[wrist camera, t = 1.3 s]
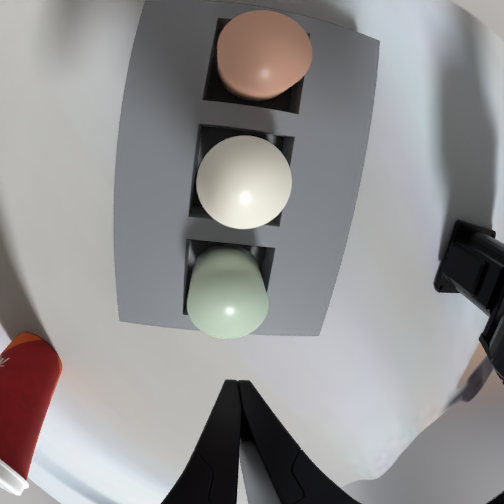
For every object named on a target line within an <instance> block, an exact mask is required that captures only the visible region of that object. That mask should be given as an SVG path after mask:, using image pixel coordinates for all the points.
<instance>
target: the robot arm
mask: <svg viewBox="0 0 504 504" xmlns="http://www.w3.org/2000/svg"><path fill="white" fill-rule="evenodd" d="M495 236H496V232H495V231H494V230H491V229H488V228H485V227H482V226H479V225H475V224H472V223H469V222H465V221H462V220H458V221H457V222H456V223H455V226H454V230H453V233H452V237H451V240H450V243H449V247H448V250H447V253H446V256H445V259H444V262H443V265H442V268H441V270H440V273H439V276H438V279H437V281H436V284H435V290H436V291H437V292H441V293H461V294H463V295H464V296H465V297H466V298H467V299H469V300H470V301H471V302H472V303H473V304H475V305H476V306H477V307H478V308H479V309H480V310H482V311H483V312H484V313H485V314H486V315H487V316H489V319H488V322H487V324H486V326H485V329H484V331H483V333H481V335H480V337H479V341H480V342H481V344H482V346H483V348H484V350H485V352H486V354H487V356H488V357H489V359H490V361H491V364H492V366H493V368H494V369H495V371H496V373H497V375H498V376H499V378H500V379H502V380H503V384H504V244H503V243H501V242H499V241H498V240H496V239H495ZM239 458H240V463H241V469H242V474H243V479H244V484H245V489H246V494H247V499H248V503H249V504H361V503H359V502H357V501H356V500H354V499H353V498H352V497H350V496H349V495H348V494H347V493H345V492H344V491H343V490H342V489H341V488H340V487H338V486H337V485H336V484H335V483H334V482H333V481H332V480H330V479H329V478H328V477H327V476H326V475H325V474H324V473H323V472H322V471H321V470H320V469H319V468H318V467H317V466H316V465H315V464H314V463H313V462H312V461H311V460H310V458H309V457H308V456H307V455H306V454H305V452H304V451H303V450H301V448H300V446H299V445H298V444H297V443H296V441H295V440H294V439H293V438H292V436H291V435H290V434H289V432H288V431H287V430H286V429H285V427H284V426H283V425H282V423H281V422H280V421H279V420H278V418H277V417H276V416H275V414H274V413H273V412H272V410H271V409H270V408H269V406H268V405H267V404H266V402H265V401H264V399H263V398H262V397H261V395H260V394H259V393H258V391H257V390H256V388H255V387H254V386H253V384H252V383H251V382H250V381H249V380H239V381H237V380H228V379H227V380H225V382H224V384H223V386H222V389H221V391H220V393H219V396H218V398H217V400H216V402H215V405H214V407H213V409H212V411H211V414H210V416H209V418H208V420H207V423H206V425H205V427H204V429H203V432H202V434H201V436H200V438H199V440H198V443H197V445H196V447H195V449H194V451H193V453H192V455H191V458H190V460H189V462H188V464H187V465H186V467H185V469H184V471H183V473H182V474H181V476H180V477H179V479H178V481H177V482H176V484H175V485H174V486H173V488H172V489H171V491H170V492H169V493H168V495H167V496H166V497H165V499H164V500H163V502H162V503H161V504H236V503H237V485H238V467H239ZM486 504H504V491H503V492H501V493H500V494H498V495H497V496H496V497H494V498H493V499H492V500H490V501H489V502H487V503H486Z"/></svg>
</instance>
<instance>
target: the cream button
mask: <svg viewBox="0 0 504 504" xmlns="http://www.w3.org/2000/svg"><path fill="white" fill-rule="evenodd" d="M196 185H197V193H198V197H199V199H200V202H201V204H202V206H203V207H204V209H205V210H206V212H207V213H208V214H209V215H210V216H211V217H212V218H214V219H215V220H216V221H218V222H219V223H221V224H223V225H225V226H228V227H231V228H237V229H251V228H256V227H259V226H262V225H264V224H266V223H268V222H269V221H271V220H273V219H274V218H275V217H276V216H277V215H278V214H279V213H280V212H281V211H282V209H283V208H284V207H285V205H286V203H287V201H288V199H289V196H290V193H291V187H292V176H291V171H290V167H289V164H288V162H287V160H286V158H285V157H284V155H283V154H282V153H281V152H280V150H279V149H278V148H276V147H275V146H274V145H273V144H271V143H270V142H268V141H266V140H264V139H261V138H258V137H254V136H236V137H231V138H228V139H225V140H223V141H221V142H219V143H218V144H216V145H215V146H214V147H213V148H212V149H211V150H210V151H209V152H208V153H207V154H206V155H205V157H204V158H203V160H202V162H201V164H200V166H199V169H198V173H197V181H196Z"/></svg>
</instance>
